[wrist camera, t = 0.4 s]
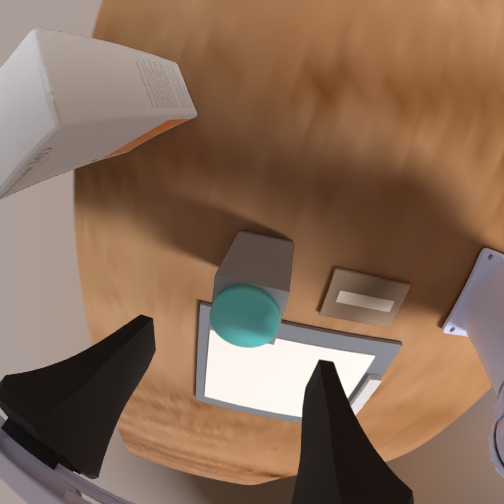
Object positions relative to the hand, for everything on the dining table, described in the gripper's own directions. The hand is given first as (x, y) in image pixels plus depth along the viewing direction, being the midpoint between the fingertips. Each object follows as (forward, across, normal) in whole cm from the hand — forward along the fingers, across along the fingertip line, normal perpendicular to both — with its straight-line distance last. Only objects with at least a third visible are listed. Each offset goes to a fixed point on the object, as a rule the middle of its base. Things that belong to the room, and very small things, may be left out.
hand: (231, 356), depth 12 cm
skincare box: (+10, +9, -9) cm, 16 cm away
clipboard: (+9, -4, +12) cm, 16 cm away
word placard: (+9, -8, +2) cm, 12 cm away
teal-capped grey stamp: (+9, 0, 0) cm, 9 cm away
